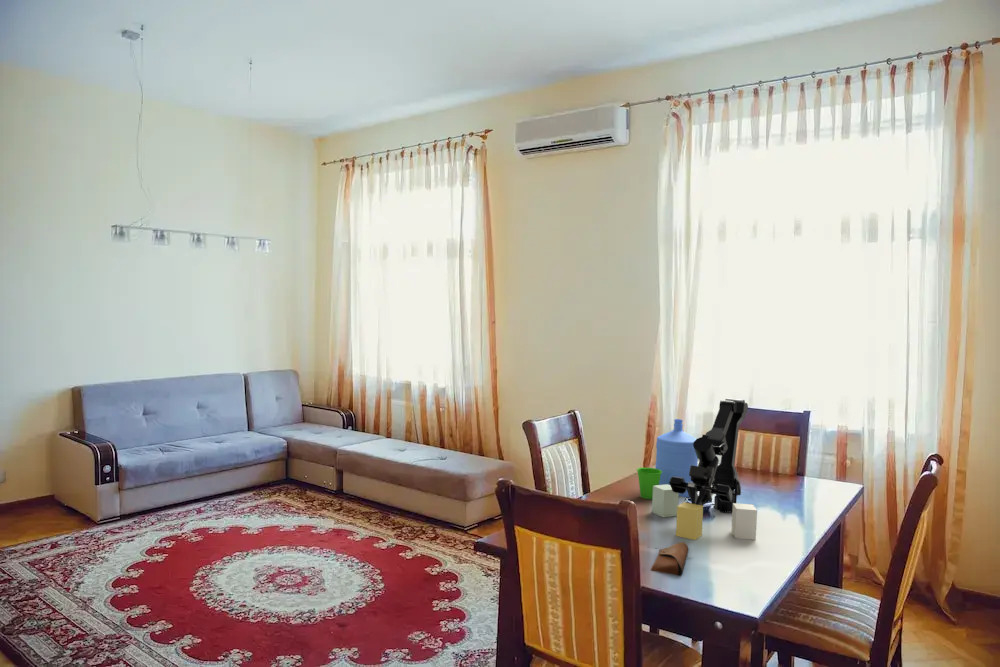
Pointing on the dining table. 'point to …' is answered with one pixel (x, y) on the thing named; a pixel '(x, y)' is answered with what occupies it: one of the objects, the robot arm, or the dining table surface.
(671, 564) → the sunglasses case
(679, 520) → the mustard block
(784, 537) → the dining table surface
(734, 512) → the cream block
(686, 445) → the water jug
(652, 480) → the cup
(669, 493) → the sage block
